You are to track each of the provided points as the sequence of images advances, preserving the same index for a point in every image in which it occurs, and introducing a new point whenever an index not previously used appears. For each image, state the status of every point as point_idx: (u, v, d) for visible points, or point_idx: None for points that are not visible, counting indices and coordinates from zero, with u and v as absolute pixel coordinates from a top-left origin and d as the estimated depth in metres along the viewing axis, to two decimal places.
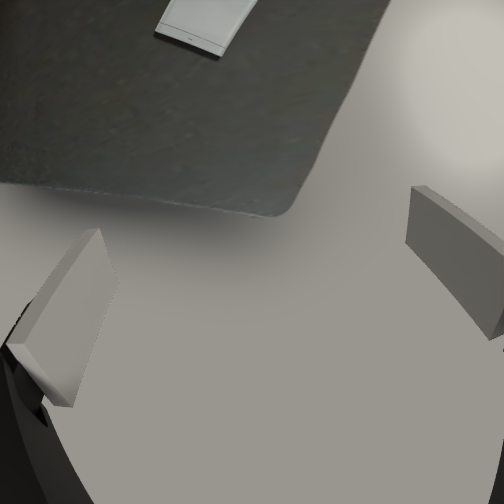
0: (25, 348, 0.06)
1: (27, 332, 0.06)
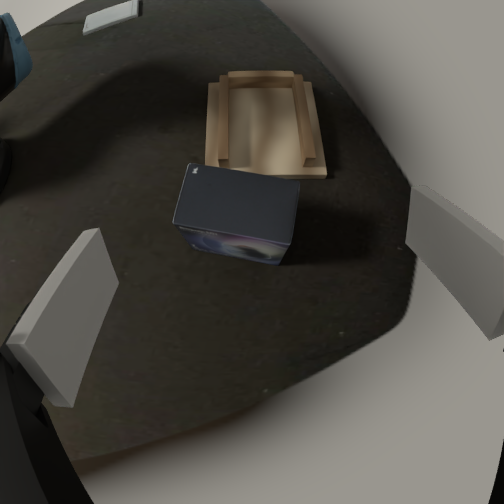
0: (25, 348, 0.06)
1: (27, 332, 0.06)
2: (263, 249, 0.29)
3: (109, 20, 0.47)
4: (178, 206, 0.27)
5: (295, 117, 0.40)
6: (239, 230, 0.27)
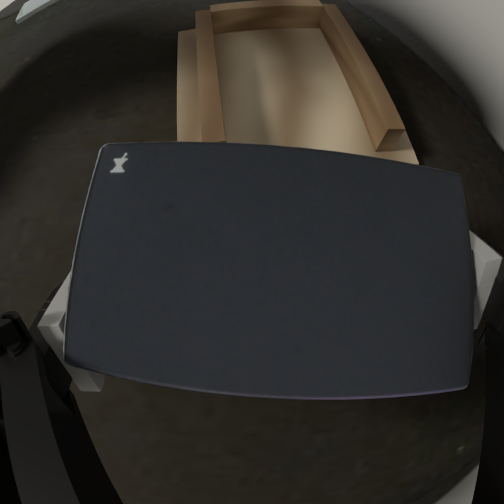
0: (58, 330, 0.07)
1: (60, 314, 0.07)
2: None
3: None
4: (71, 300, 0.07)
5: (338, 67, 0.20)
6: (309, 382, 0.06)
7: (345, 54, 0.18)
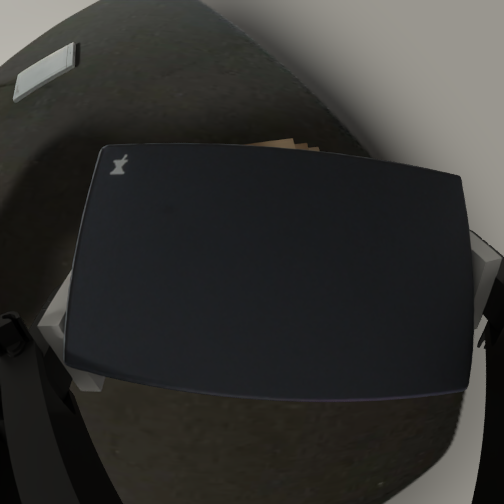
0: (58, 330, 0.07)
1: (60, 314, 0.07)
2: None
3: (41, 77, 0.36)
4: (72, 302, 0.07)
5: None
6: (309, 384, 0.06)
7: None
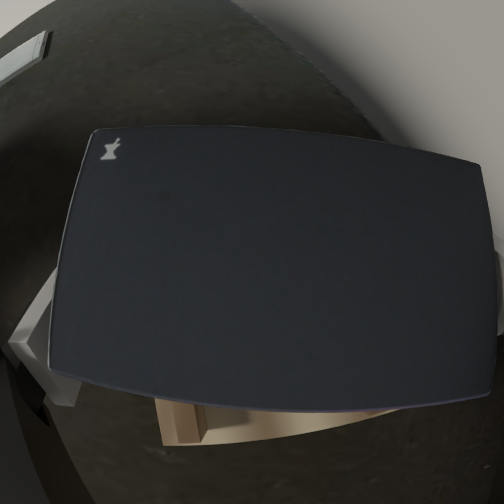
0: (27, 347, 0.06)
1: (29, 331, 0.06)
2: None
3: (5, 73, 0.27)
4: (56, 301, 0.06)
5: None
6: (324, 394, 0.05)
7: None
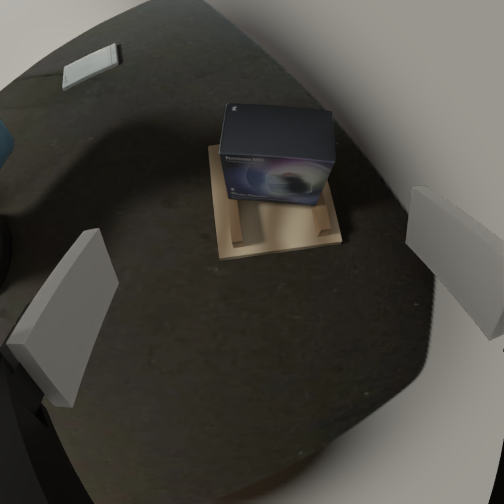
0: (25, 348, 0.06)
1: (27, 332, 0.06)
2: (307, 175, 0.29)
3: (89, 71, 0.48)
4: (222, 138, 0.27)
5: None
6: (286, 153, 0.26)
7: None
